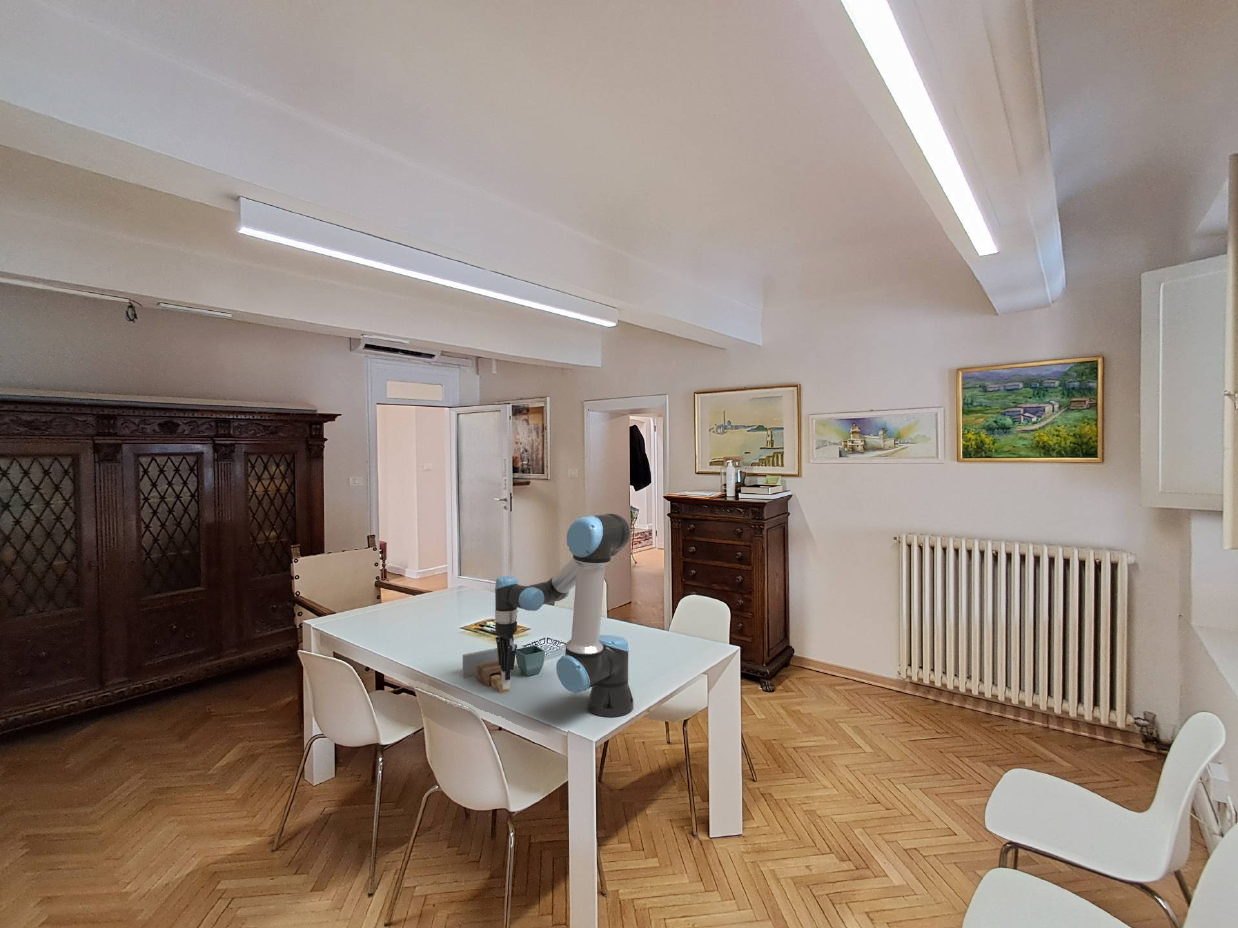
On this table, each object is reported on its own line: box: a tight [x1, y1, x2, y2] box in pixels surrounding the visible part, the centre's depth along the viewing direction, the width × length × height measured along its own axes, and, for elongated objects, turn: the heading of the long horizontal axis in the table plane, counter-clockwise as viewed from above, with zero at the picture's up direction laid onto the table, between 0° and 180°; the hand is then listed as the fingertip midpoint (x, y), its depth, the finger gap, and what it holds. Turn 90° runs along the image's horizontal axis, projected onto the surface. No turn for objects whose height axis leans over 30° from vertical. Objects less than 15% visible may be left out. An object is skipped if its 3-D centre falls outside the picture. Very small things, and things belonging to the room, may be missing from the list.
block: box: [476, 660, 502, 687], centre depth 211 cm, size 8×8×6 cm
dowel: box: [490, 674, 510, 694], centre depth 205 cm, size 10×3×3 cm, turn 35°
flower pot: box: [515, 645, 546, 677], centre depth 218 cm, size 9×9×9 cm
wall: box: [462, 647, 498, 678], centre depth 219 cm, size 2×14×8 cm, turn 125°
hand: (506, 687), depth 200 cm, fingers closed
